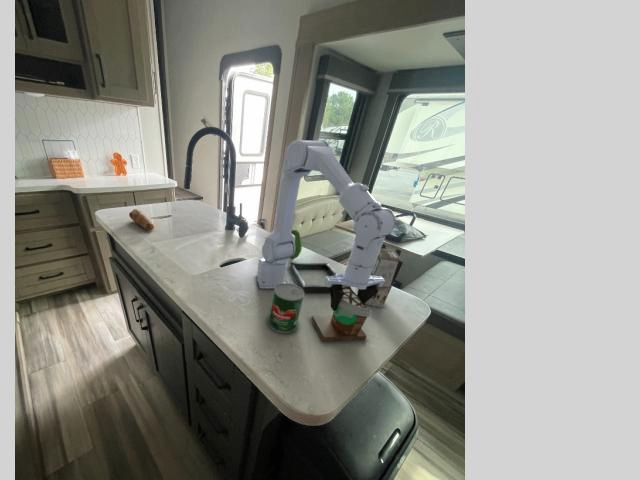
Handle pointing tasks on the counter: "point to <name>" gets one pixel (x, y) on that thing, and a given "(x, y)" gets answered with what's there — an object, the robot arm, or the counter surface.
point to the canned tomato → (286, 307)
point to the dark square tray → (311, 266)
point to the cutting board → (332, 330)
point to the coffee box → (385, 274)
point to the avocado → (296, 243)
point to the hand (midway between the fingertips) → (344, 308)
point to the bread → (141, 219)
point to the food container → (350, 313)
